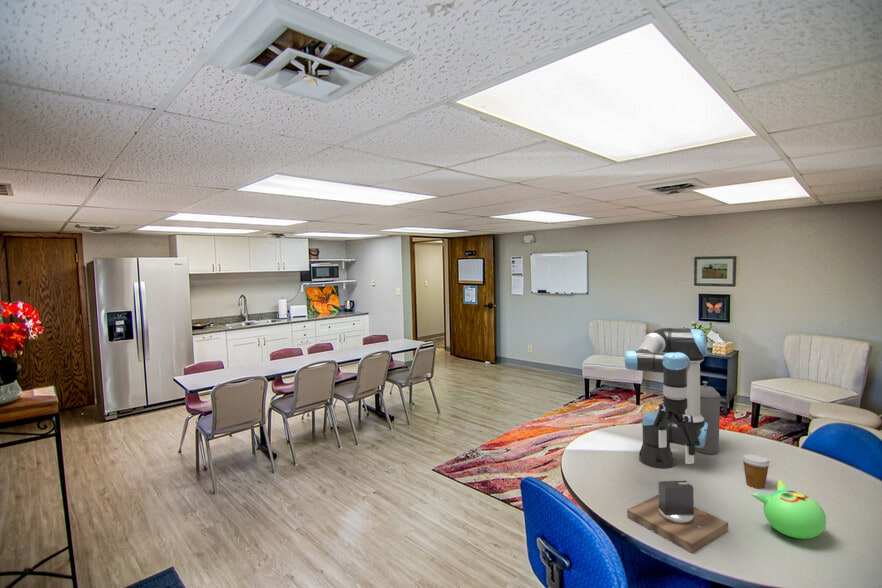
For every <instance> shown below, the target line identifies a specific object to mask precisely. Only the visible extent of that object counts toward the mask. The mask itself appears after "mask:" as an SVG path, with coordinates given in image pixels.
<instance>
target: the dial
mask: <svg viewBox="0 0 882 588" xmlns="http://www.w3.org/2000/svg"><path fill="white" fill-rule="evenodd" d="M658 495H659V514H660V515H661V516H662V517H663V518H664V519H666V520H668V521H670V522H673V523H677V524H689V523H692V522H693V520H694V507H695V505H694V486H693V485H692V484H691V482H689V481H687V480H668V481H667V480H664V481H658Z"/></svg>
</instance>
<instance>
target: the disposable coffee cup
mask: <svg viewBox="0 0 882 588" xmlns="http://www.w3.org/2000/svg"><path fill="white" fill-rule="evenodd" d="M741 460H742V461H743V469H744V475H745V483H746V485H747V486H748V487H750V488H752V487H753V489H756V490H757V489H758V490H764V489H766V484H767V477H768V473H769V472H768V471H769V467H770V465H771V462H770V460H769V458H768V457H767V456H765V455H762V454H760V453H759V454H758V453H751V452H746V453H743V455H742V457H741Z"/></svg>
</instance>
